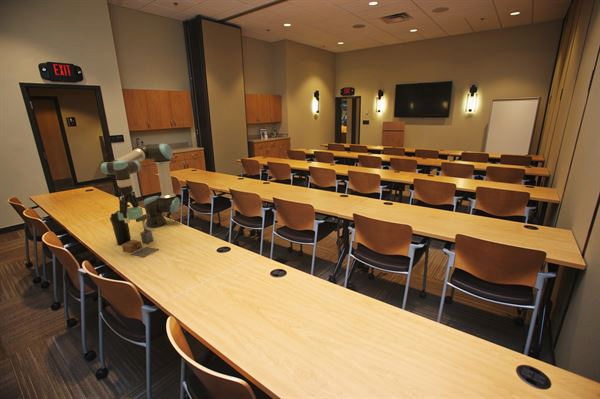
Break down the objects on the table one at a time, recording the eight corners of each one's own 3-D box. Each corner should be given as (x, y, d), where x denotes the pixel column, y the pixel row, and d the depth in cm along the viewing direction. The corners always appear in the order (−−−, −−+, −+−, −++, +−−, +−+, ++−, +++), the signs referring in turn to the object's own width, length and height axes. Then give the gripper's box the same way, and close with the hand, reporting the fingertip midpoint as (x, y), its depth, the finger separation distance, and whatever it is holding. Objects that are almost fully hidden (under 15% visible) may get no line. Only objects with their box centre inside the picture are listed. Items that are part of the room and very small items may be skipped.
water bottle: (135, 239, 211) (129, 209, 205) (126, 246, 202) (119, 214, 195) (122, 239, 212) (115, 209, 206) (112, 246, 203) (105, 214, 196)
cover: (143, 214, 191) (141, 206, 189) (135, 219, 181) (133, 211, 180) (127, 214, 191) (126, 207, 189) (119, 220, 181) (117, 212, 180)
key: (138, 233, 201) (135, 218, 197) (151, 228, 208) (148, 214, 205) (146, 236, 195) (143, 220, 192) (159, 231, 202) (156, 216, 199)
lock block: (148, 240, 209) (146, 229, 207) (153, 241, 207) (151, 230, 205) (142, 243, 205) (140, 232, 202) (147, 244, 203) (145, 233, 201)
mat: (146, 246, 199) (145, 246, 199) (159, 249, 194) (158, 249, 194) (130, 254, 188) (130, 254, 188) (143, 257, 184) (143, 257, 184)
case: (134, 246, 201) (132, 239, 199) (142, 248, 198) (140, 241, 196) (123, 251, 194) (121, 244, 192) (131, 253, 191) (130, 246, 189)
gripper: (128, 182, 191) (135, 214, 197) (107, 190, 169) (115, 226, 176) (140, 181, 191) (146, 213, 197) (120, 190, 169) (128, 226, 176)
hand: (132, 219), depth 186 cm, fingers closed on cover, 10 cm apart
